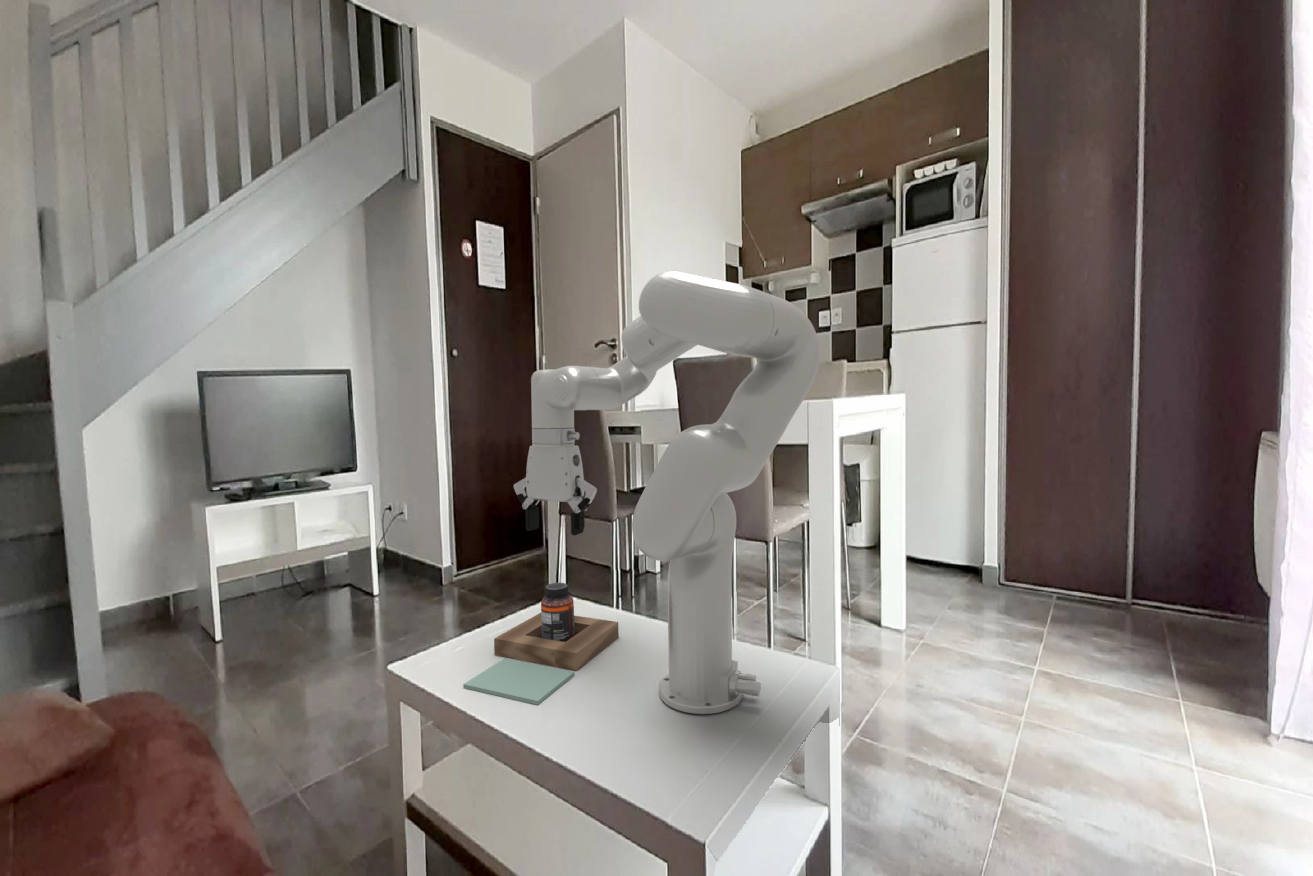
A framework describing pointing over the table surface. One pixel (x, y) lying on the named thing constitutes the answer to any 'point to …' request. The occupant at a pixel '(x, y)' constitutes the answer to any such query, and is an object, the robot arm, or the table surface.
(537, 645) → the walnut frame
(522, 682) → the sage green mat
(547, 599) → the supplement bottle
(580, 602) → the table surface
